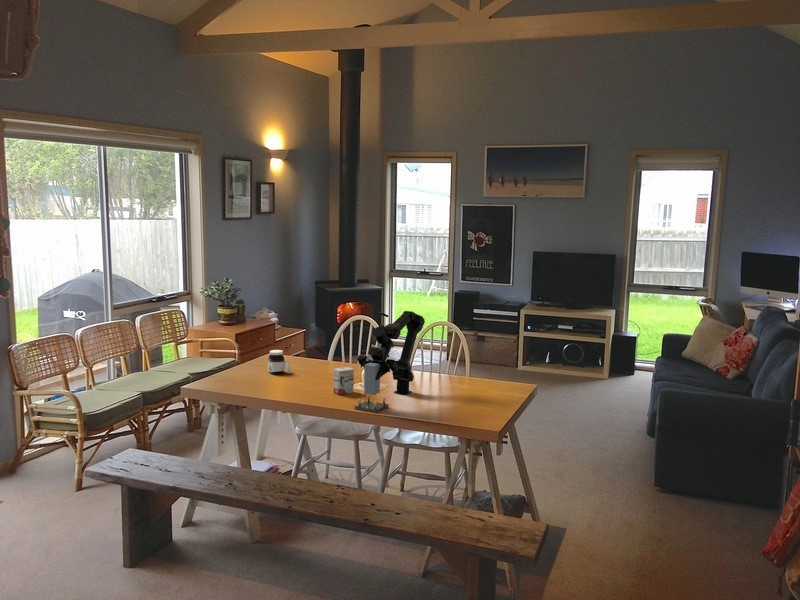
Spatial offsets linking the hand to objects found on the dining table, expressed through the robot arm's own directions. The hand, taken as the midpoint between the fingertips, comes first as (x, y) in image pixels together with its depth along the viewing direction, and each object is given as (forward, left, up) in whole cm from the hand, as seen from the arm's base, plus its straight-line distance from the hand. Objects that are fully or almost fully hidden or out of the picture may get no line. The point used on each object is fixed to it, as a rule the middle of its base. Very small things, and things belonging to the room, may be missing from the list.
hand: (370, 379), depth 305 cm
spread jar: (-23, -75, -14) cm, 80 cm away
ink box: (-13, -25, -14) cm, 32 cm away
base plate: (-1, 0, -13) cm, 13 cm away
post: (-1, 0, -7) cm, 7 cm away
